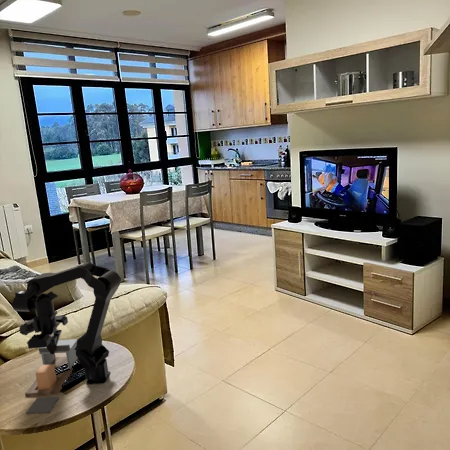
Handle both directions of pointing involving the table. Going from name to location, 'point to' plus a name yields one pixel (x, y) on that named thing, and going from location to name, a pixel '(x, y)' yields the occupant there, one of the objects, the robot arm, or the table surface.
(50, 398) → the mat
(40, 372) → the block
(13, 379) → the table surface
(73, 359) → the cover
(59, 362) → the puzzle board
